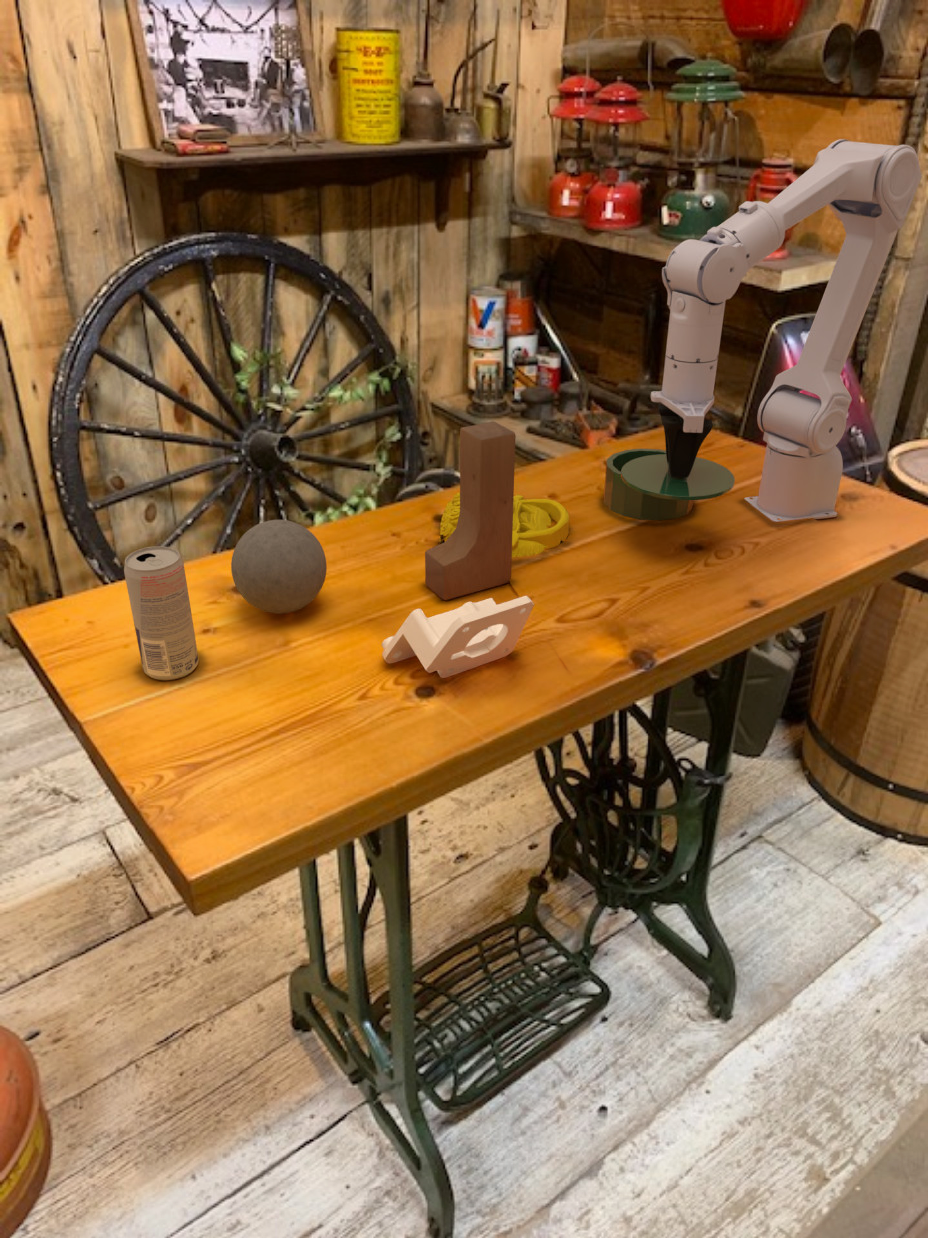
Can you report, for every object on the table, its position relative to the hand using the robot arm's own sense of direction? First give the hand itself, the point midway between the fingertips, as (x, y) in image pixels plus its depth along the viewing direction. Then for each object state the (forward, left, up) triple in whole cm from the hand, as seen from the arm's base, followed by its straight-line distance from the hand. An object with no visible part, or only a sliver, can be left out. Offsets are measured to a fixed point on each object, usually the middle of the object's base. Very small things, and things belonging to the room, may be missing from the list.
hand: (677, 470), depth 116 cm
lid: (0, 0, -1) cm, 1 cm away
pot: (-2, -12, -10) cm, 15 cm away
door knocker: (+19, -9, -10) cm, 23 cm away
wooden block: (+27, +3, -10) cm, 29 cm away
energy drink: (+60, +12, -10) cm, 62 cm away
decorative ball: (+48, +3, -10) cm, 49 cm away
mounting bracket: (+33, +19, -10) cm, 39 cm away
